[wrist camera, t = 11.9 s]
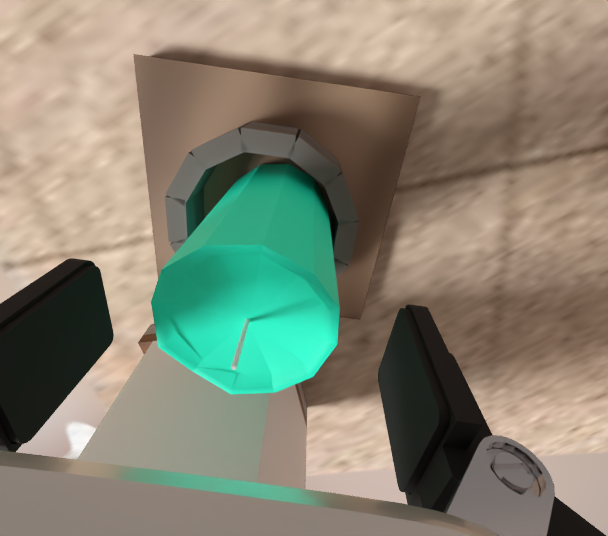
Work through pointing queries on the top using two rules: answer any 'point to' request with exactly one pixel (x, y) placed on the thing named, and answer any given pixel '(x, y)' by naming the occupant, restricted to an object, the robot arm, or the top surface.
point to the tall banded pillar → (201, 426)
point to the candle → (254, 286)
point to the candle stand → (272, 152)
